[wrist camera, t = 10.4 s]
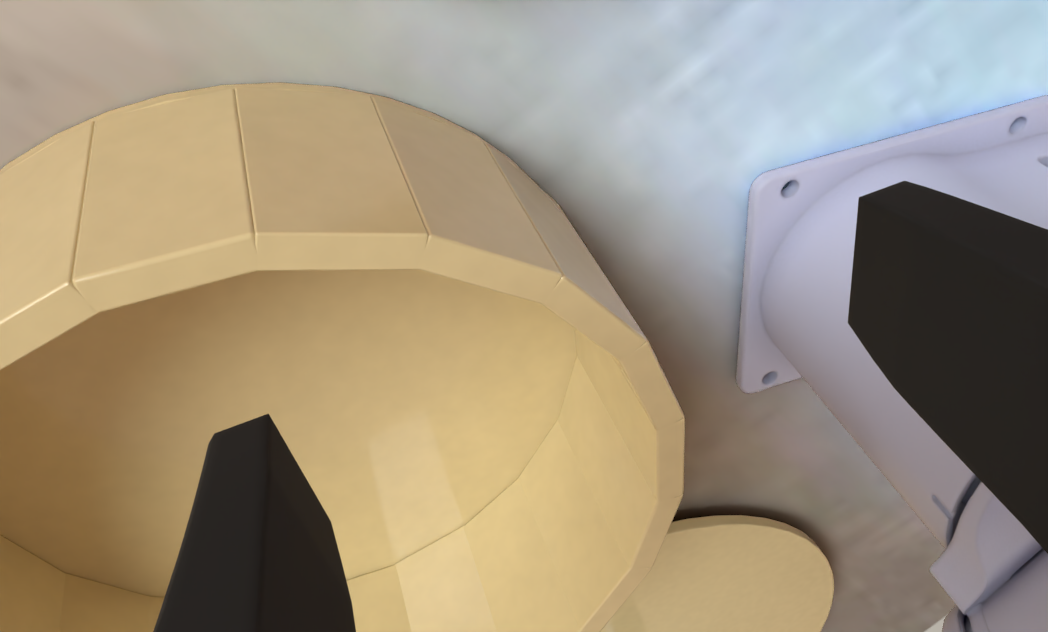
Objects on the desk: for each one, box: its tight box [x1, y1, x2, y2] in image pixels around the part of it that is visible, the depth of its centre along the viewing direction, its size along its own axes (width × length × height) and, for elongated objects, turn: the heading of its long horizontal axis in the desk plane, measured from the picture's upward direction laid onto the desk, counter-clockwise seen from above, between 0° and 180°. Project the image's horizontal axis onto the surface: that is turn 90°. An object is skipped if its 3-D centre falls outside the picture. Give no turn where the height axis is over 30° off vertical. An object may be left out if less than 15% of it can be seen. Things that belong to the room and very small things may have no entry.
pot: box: [0, 83, 685, 632], centre depth 21 cm, size 17×17×6 cm
